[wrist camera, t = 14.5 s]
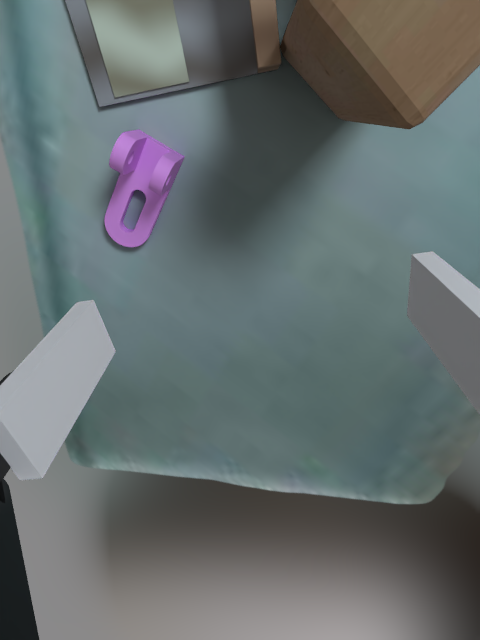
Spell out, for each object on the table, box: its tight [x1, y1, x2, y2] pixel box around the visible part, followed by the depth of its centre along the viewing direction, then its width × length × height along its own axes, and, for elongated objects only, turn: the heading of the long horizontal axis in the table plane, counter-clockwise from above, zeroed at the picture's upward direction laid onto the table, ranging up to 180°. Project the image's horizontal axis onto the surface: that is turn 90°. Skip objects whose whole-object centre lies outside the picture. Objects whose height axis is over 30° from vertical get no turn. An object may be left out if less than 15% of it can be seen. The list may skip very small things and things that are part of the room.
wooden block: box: [280, 0, 480, 129], centre depth 26 cm, size 10×10×20 cm
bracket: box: [105, 130, 184, 247], centre depth 40 cm, size 13×6×7 cm, turn 151°
